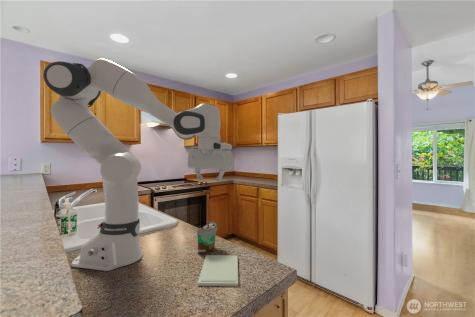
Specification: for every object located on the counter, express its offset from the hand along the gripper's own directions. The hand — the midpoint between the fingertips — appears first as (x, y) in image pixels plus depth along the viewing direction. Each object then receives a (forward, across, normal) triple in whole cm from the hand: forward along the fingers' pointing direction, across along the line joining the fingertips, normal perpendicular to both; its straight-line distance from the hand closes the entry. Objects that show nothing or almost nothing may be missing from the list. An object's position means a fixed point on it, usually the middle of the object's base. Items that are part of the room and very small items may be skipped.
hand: (209, 180), depth 88 cm
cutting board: (+29, +11, -8) cm, 32 cm away
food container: (+29, -2, +3) cm, 29 cm away
